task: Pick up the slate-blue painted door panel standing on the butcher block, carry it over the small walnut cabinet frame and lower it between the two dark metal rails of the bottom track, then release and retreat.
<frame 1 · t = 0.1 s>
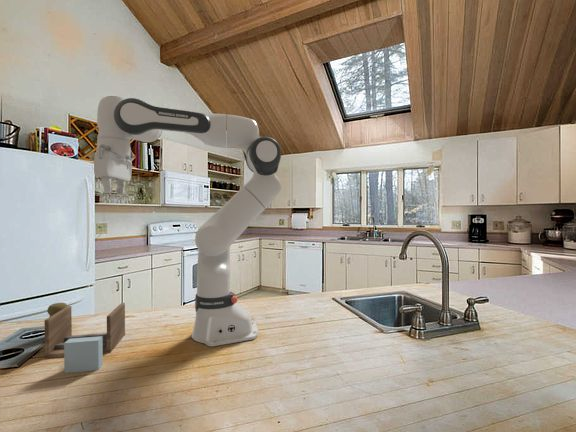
hand: (114, 193, 89), 48 cm above the countertop, fingers open, 8 cm apart
door panel: (84, 368, 76), on the countertop
cork: (57, 336, 94), on the countertop
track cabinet: (88, 345, 88), on the countertop
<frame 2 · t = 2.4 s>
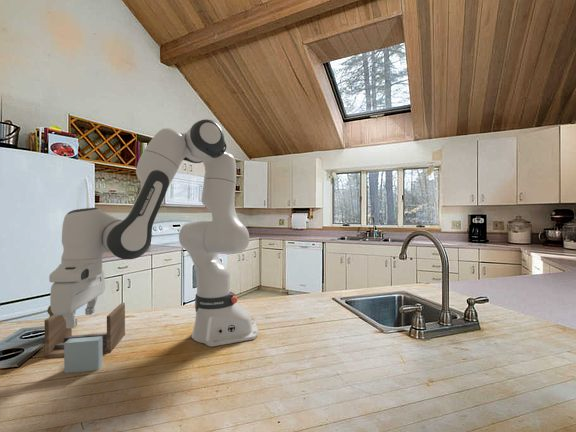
hand: (81, 320, 75), 13 cm above the countertop, fingers open, 8 cm apart
nothing on the countertop moved.
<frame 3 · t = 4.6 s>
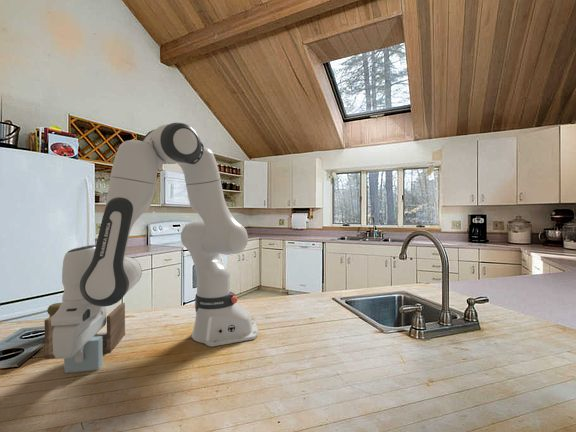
hand: (83, 357, 75), 3 cm above the countertop, fingers closed on door panel, 2 cm apart
door panel: (84, 368, 76), on the countertop, touching gripper
everything else where it was.
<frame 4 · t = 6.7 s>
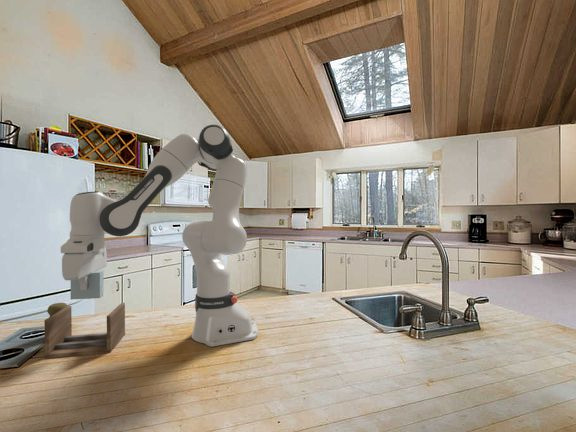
hand: (87, 287, 88), 18 cm above the countertop, fingers closed on door panel, 2 cm apart
door panel: (87, 297, 88), point 15 cm above the countertop, touching gripper
everything else where it was.
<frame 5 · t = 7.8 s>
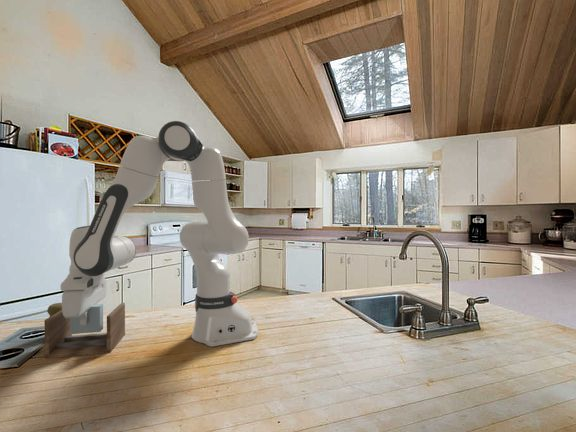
hand: (87, 321, 88), 8 cm above the countertop, fingers closed on door panel, 2 cm apart
door panel: (87, 331, 88), point 5 cm above the countertop, touching gripper
everything else where it was.
when the fingers open (5 cm above the countertop, at t = 8.9 s): door panel stays where it is, resting on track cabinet.
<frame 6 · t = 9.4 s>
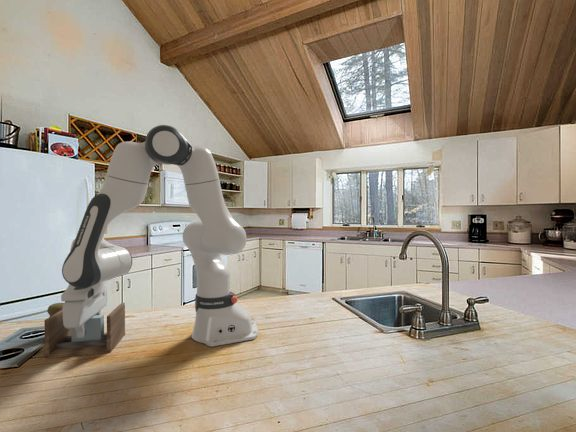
hand: (88, 330, 88), 5 cm above the countertop, fingers open, 7 cm apart
door panel: (88, 342, 88), point 1 cm above the countertop, touching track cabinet
everything else where it was.
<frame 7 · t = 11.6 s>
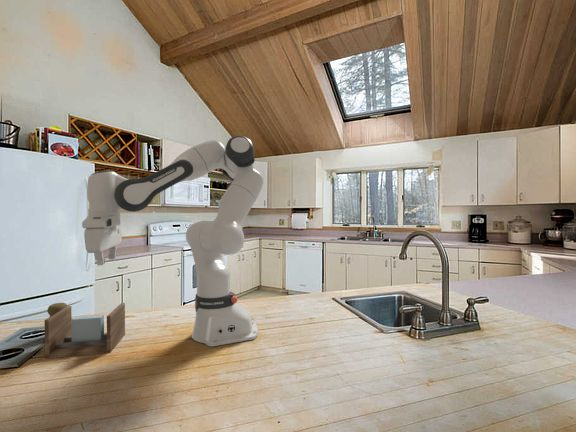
hand: (106, 261, 94), 25 cm above the countertop, fingers open, 8 cm apart
nothing on the countertop moved.
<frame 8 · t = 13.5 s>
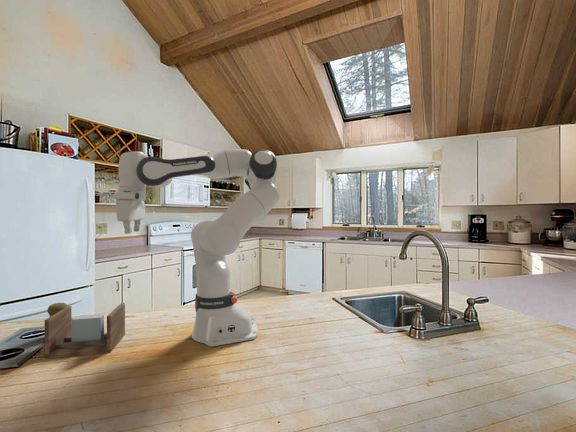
hand: (132, 232, 105), 34 cm above the countertop, fingers open, 8 cm apart
nothing on the countertop moved.
at the end: door panel 0.0 cm off-centre on the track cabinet, point 1.0 cm above the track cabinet's base; door panel tilted 0°; the gripper is holding nothing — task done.
